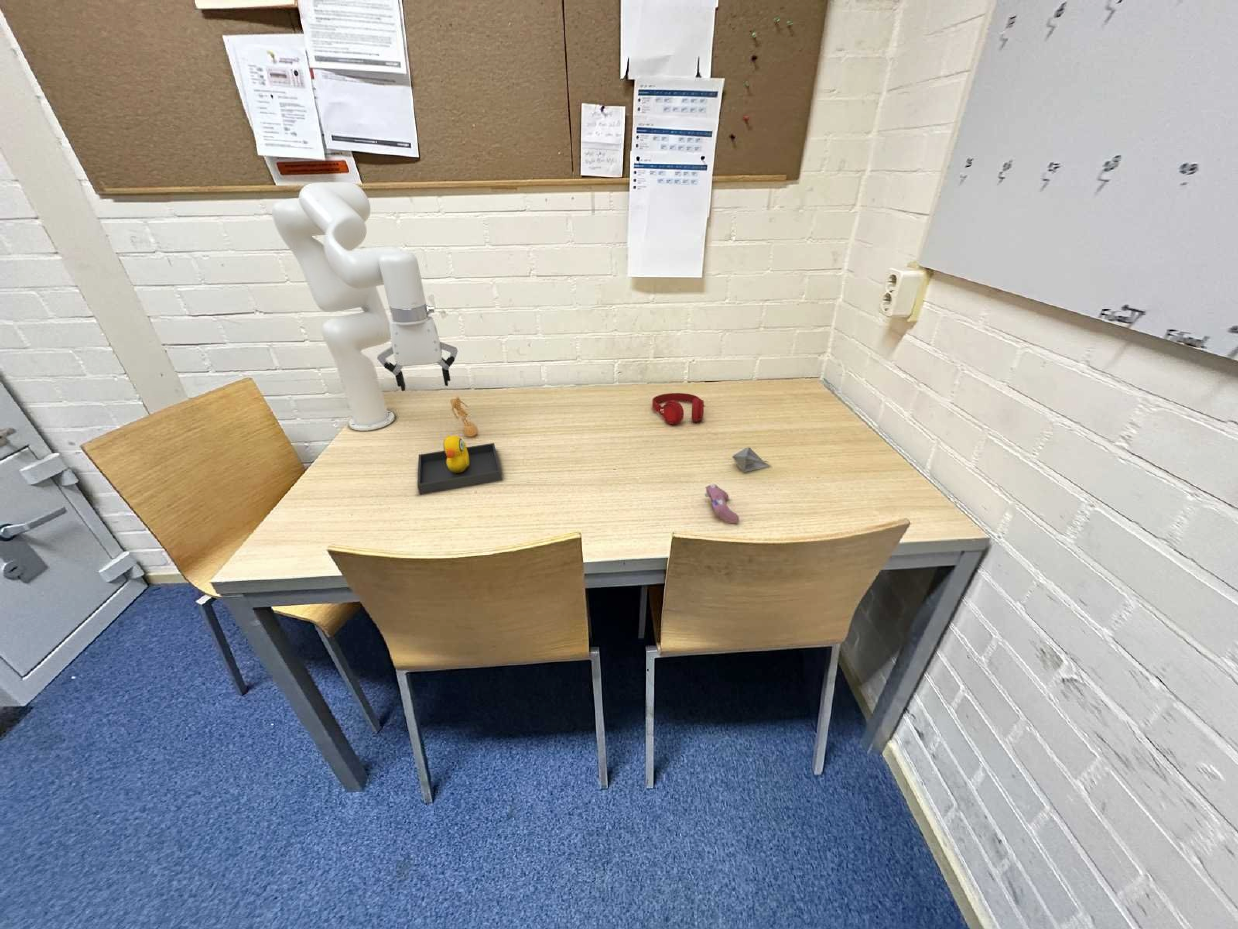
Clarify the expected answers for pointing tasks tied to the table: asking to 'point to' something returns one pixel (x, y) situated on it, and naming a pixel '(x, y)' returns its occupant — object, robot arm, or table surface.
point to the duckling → (456, 454)
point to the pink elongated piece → (721, 503)
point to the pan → (440, 478)
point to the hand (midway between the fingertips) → (425, 386)
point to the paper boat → (748, 460)
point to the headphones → (678, 407)
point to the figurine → (469, 427)
